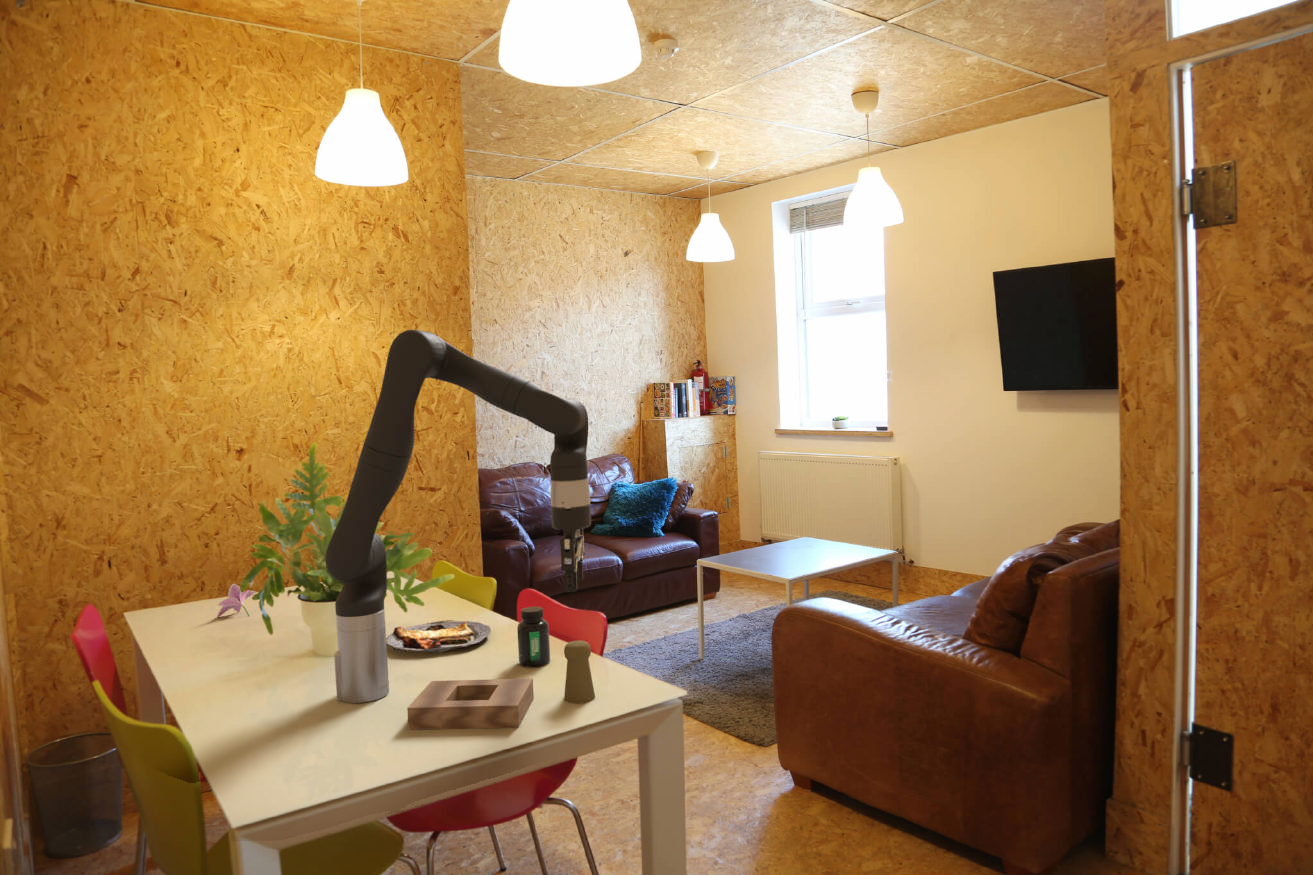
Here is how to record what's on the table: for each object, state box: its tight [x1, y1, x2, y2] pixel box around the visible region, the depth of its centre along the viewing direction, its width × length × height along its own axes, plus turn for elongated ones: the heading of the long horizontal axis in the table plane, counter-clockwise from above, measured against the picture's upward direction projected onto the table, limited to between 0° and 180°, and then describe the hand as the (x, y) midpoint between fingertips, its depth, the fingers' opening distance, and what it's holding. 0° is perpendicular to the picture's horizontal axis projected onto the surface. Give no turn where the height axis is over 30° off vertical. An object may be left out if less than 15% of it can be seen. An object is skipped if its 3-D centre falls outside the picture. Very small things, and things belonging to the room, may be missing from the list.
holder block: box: [407, 678, 535, 731], centre depth 159 cm, size 20×14×4 cm
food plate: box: [386, 619, 492, 654], centre depth 207 cm, size 25×23×4 cm
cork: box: [563, 640, 596, 704], centre depth 165 cm, size 6×6×11 cm
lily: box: [216, 581, 257, 618], centre depth 241 cm, size 12×12×10 cm
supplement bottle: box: [516, 606, 551, 668], centre depth 188 cm, size 7×7×12 cm
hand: (574, 586), depth 164 cm, fingers open, 8 cm apart
